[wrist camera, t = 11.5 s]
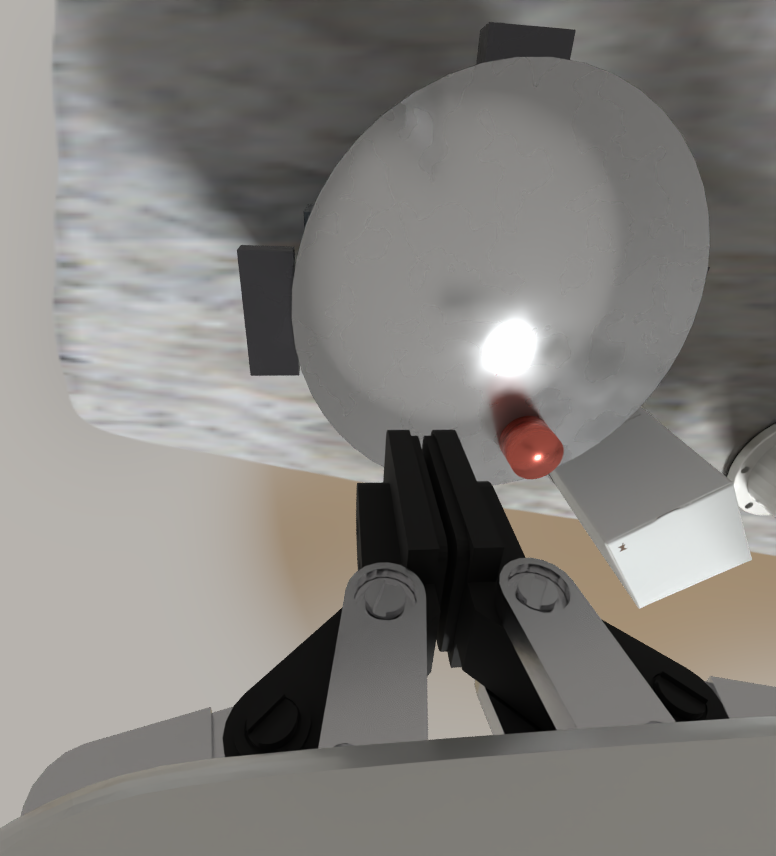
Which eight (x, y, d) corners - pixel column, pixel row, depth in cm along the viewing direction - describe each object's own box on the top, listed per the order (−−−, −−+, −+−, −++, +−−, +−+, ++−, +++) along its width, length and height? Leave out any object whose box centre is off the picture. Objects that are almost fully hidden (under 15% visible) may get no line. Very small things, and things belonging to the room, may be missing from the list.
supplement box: (557, 490, 48) (636, 614, 35) (524, 429, 44) (601, 544, 31) (641, 449, 46) (756, 563, 34) (616, 381, 42) (737, 482, 29)
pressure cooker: (646, 75, 30) (806, 36, 20) (558, 405, 43) (628, 486, 32) (306, 48, 28) (288, -12, 18) (317, 405, 40) (310, 492, 30)
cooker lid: (760, 82, 21) (834, 71, 18) (618, 467, 31) (649, 500, 28) (219, 35, 18) (198, 12, 15) (266, 479, 28) (259, 517, 25)
